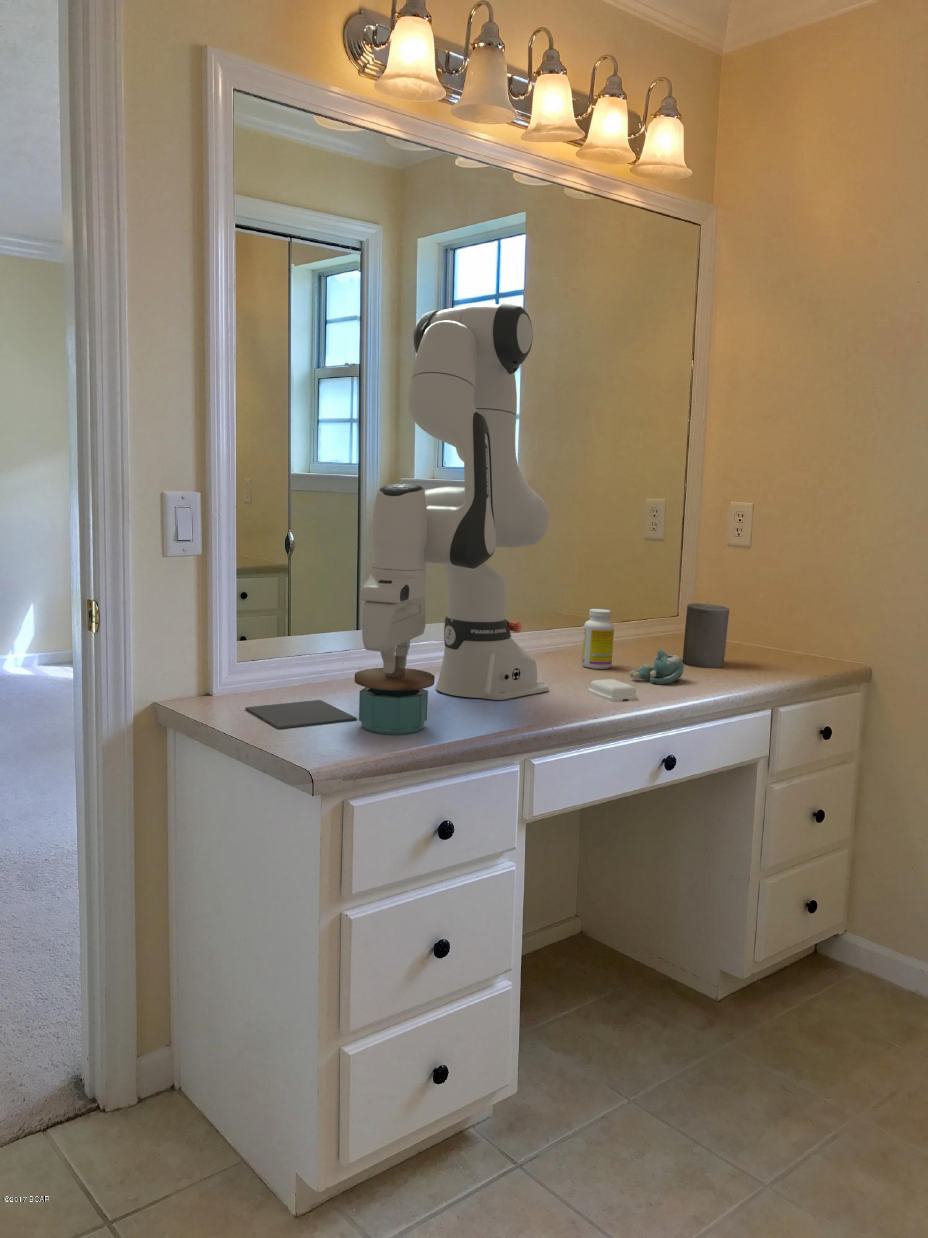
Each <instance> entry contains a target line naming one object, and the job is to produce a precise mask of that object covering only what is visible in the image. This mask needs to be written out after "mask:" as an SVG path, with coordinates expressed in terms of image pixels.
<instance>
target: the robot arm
mask: <svg viewBox="0 0 928 1238" xmlns="http://www.w3.org/2000/svg"><path fill="white" fill-rule="evenodd" d="M531 320H532V319H531V318H530V316H529V313H528V312H527V311H526V310H525V309H524V307H522V306H520V305H518V304H512V303H506V302H505V303H501V304H493V303H492V304H489V303H488V304H486V303H481V304H480V303H479V304H477V303H476V304H468V305H465V306H458V307H457V306H456V307H451V308H447V309H440V308H439V309H438V308H437V309H435V310H430V311H428V312H426V313H424V314H422V315H421V317H420V318H419V320H418V321H417V322H416V324H415V326H414V330H413V347H414V351H415V353H416V355H415V359H414V363H413V366H412V367H413V368H412V373H411V378H410V384H409V385H410V386H409V388H408V389H409V390H408V391H409V392H408V409H409V413H410V415H411V417H412V419H413V421H414V422H415V424H416V425H417V426H418V427H419V428H420V429H421V430H422V431H424V432H425V433H427V434H428V435H429V436H432V437H434V438H435V439H437V440H439V441H441V442H443V443H446V444H448V445H450V446H452V447H454V448H455V449H456V454H457V456H458V458H459V459H460V460H461V462H463V472H464V474H463V475H464V477H463V478H464V486H448V485H447V486H441V487H435V488H429V489H425V488H424V487H423V486H421V485H420V484H419V485H418V484H416V483H408V482H407V483H406V482H398V483H390V484H387V485H384V486H383V485H382V487H380V488H379V489H378V490H377V493H376V496H375V501H374V507H373V508H374V509H373V515H372V526H371V543H372V546H373V556H372V559H371V561H370V574H369V576H368V578H367V580H366V581H365V582H364V583H363V585H362V586H361V587H360V592H359V599H360V600H361V601H363V605H362V610H361V637H362V638H361V639H362V643H363V647H364V649H365V650H366V651H372V652H380V655H381V659H382V663H383V665H382V668H383V671H384V672H385V673H394V672H395V671H396V670H397V661H395V656H403V657H405V667H406V666H407V660H408V659H407V658H408V653H409V650H410V647H411V640H413V639H415V638H417V637H420V636H422V635H423V634H424V633H425V631H426V630H425V628H426V599H425V597H426V575H427V574H426V573H427V565H426V563H429V564H440V565H441V564H442V565H443V568H444V571H445V577H446V585H447V586H446V587H447V607H446V608H447V614H446V616H445V618H444V628H443V640H444V641H443V642H444V650H443V658H442V663H441V667H440V671H439V676H438V679H437V683H436V685H435V689H436V691H438V692H441V693H442V694H446V695H451V696H455V697H463V698H473V699H474V698H476V699H485V700H494V701H495V700H496V701H503V700H508V699H513V698H519V697H523V696H529V695H535V694H540V693H544V692H548V691H549V685H548V684H547V682H544V681H542V680H539V679H538V668H537V663H536V660H535V658H534V657H533V656H532V655H531V654H530V653H529V652H527V650H525V649H524V647H522V646H521V645H519V643H517V642H516V641H515V640H514V639H513V638H512V634H511V632H514V633H517V634H518V633H520V632H521V630H522V628H523V627H522V624H521V622H518V621H515V620H511V621H508V620H507V619H506V618H505V617H506V616H505V615H506V614H505V613H506V596H507V595H506V594H507V583H506V580H505V577H504V576H503V574H502V573H501V572H500V571H499V570H497V569H495V568H494V567H493V566H491V565H489V564H487V563H486V562H487V561H488V560H490V558H491V557H492V556H493V554H494V553H495V549H496V548H508V549H509V548H511V549H514V548H522V547H528V546H536V545H538V543H540V542H541V540H542V539H543V538H544V537H545V535H546V533H547V531H548V529H549V523H550V514H549V513H550V512H549V508H548V506H547V504H546V502H545V501H544V499H543V498H542V496H541V495H539V493H537V492H536V491H535V490H534V489H533V488H532V487H531V486H530V485H529V483H528V482H527V481H526V479H525V478H524V476H523V475H522V472H521V470H520V466H519V464H518V460H517V453H516V452H517V451H516V450H517V449H516V429H517V415H518V414H517V413H518V412H517V411H518V410H517V409H518V401H517V400H518V396H517V395H518V394H517V380H516V372H517V371H518V369H519V368H520V365H522V364H523V363H524V362H525V360H526V358H527V357H528V355H529V354H530V351H531V349H532V345H533V324H532V321H531Z"/></svg>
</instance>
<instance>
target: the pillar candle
mask: <svg viewBox="0 0 928 1238" xmlns="http://www.w3.org/2000/svg"><path fill="white" fill-rule="evenodd" d="M709 602H710V601H709V600H707V603H703V602H702V603H701V602H700V603H699V602H697V603H695V602H693V603H688V604H687V607H686V616H685V627H684V628H685V629H684V639H683V650H682V659H681V660H682V661H683V664H684V665H687V666H691V667H696V668H705V669H718V668H722V667H723V668H724V666H725V657H726V648H727V635H728V627H729V617H730V608H729V607H727V606H724V605H719V604H712V603H711V604H710V603H709Z"/></svg>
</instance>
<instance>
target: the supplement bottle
mask: <svg viewBox="0 0 928 1238" xmlns="http://www.w3.org/2000/svg"><path fill="white" fill-rule="evenodd" d="M588 615H589V620H587V621H585V622H584V625H583V638H582V639H583V640H582V642H583V643H582V653H581V654H582V657H581V659H582V660H581V663H582V666H583V667H584V668H588V669H592V670H593V669H594V670H607V669H608V670H609V669H610V668H612V664H613V648H614V634H615V633H614V632H615V626H614V624H613V622H611V621H610V617H611V610H609V609H602V608H591V609H589V612H588Z"/></svg>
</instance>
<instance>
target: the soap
mask: <svg viewBox="0 0 928 1238" xmlns="http://www.w3.org/2000/svg"><path fill="white" fill-rule="evenodd" d="M587 693H589V694H591V695H594V696H596V697H598V698H601V699H604V700H606V701H609V702H623V700H628V701H635V700H636V699H637V700H638V695H636V688H635V687H634V686H632V685H630V684H628V683H625V682H622V681H619V680H617V679H614V678H610V679H608V678H607V679H595V680H592V681H591V682H590V687H589V688H587Z"/></svg>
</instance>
